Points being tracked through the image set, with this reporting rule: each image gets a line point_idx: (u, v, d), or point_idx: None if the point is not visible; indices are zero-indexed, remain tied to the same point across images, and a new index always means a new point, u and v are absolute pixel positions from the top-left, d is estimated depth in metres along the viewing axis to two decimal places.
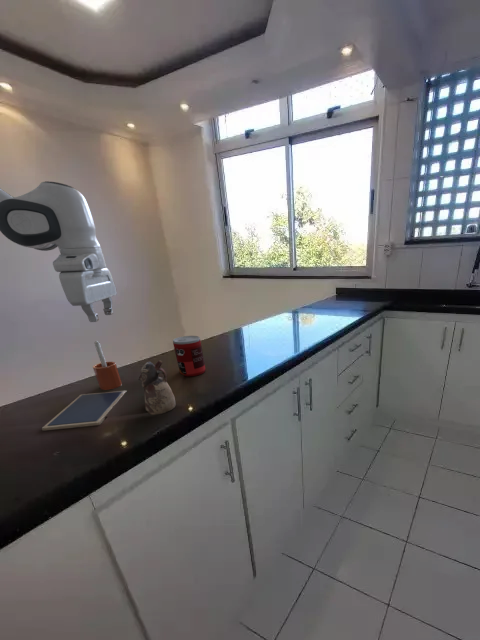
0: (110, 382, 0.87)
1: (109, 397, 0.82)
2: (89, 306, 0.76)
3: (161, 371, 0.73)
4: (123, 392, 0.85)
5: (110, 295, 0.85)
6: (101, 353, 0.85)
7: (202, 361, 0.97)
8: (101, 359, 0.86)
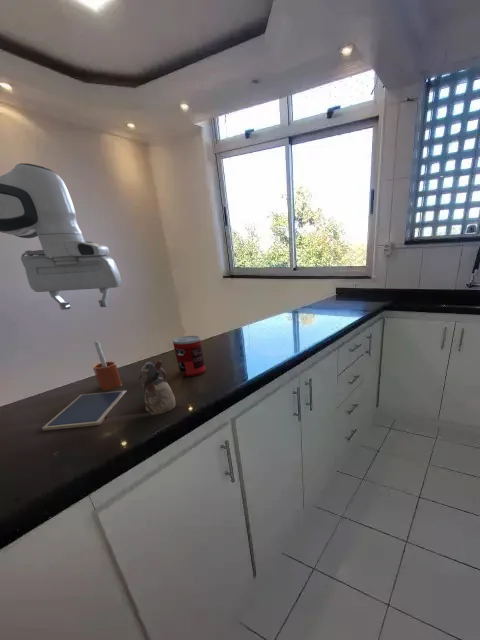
0: (110, 382, 0.87)
1: (109, 397, 0.82)
2: (108, 290, 0.80)
3: (161, 371, 0.73)
4: (123, 392, 0.85)
5: None
6: (101, 353, 0.85)
7: (202, 361, 0.97)
8: (101, 359, 0.86)
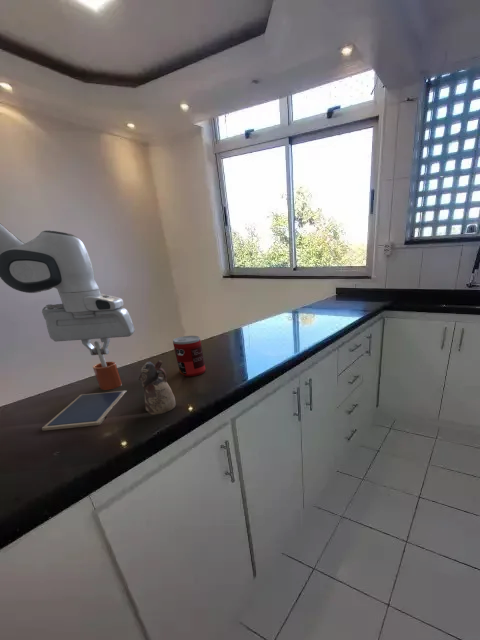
0: (110, 382, 0.87)
1: (109, 397, 0.82)
2: None
3: (161, 371, 0.73)
4: (123, 392, 0.85)
5: None
6: None
7: (202, 361, 0.97)
8: (101, 359, 0.86)
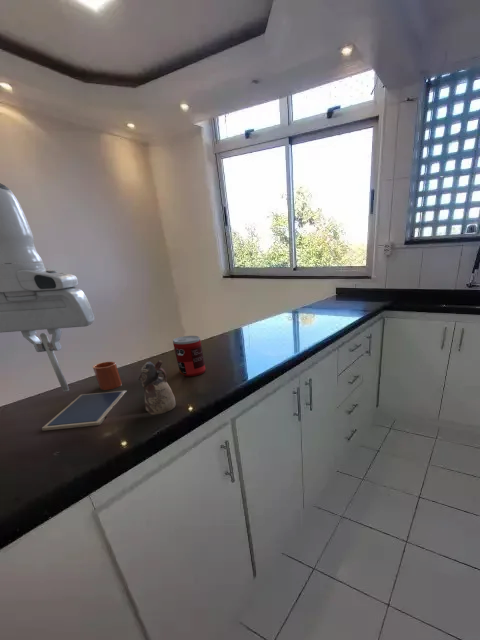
0: (110, 382, 0.87)
1: (109, 397, 0.82)
2: (60, 329, 0.64)
3: (161, 371, 0.73)
4: (123, 392, 0.85)
5: None
6: None
7: (202, 361, 0.97)
8: (50, 357, 0.65)
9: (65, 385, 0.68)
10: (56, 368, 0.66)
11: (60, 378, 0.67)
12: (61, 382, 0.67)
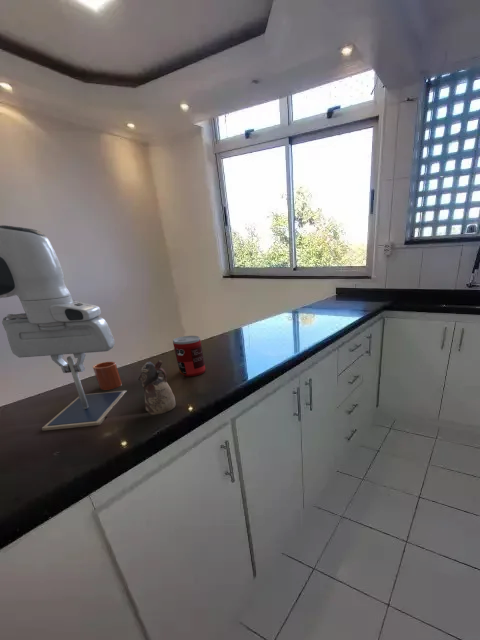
0: (110, 382, 0.87)
1: (109, 397, 0.82)
2: (84, 353, 0.72)
3: (161, 371, 0.73)
4: (123, 392, 0.85)
5: None
6: None
7: (202, 361, 0.97)
8: (74, 377, 0.73)
9: (85, 402, 0.75)
10: (78, 388, 0.74)
11: (81, 396, 0.74)
12: (82, 400, 0.75)
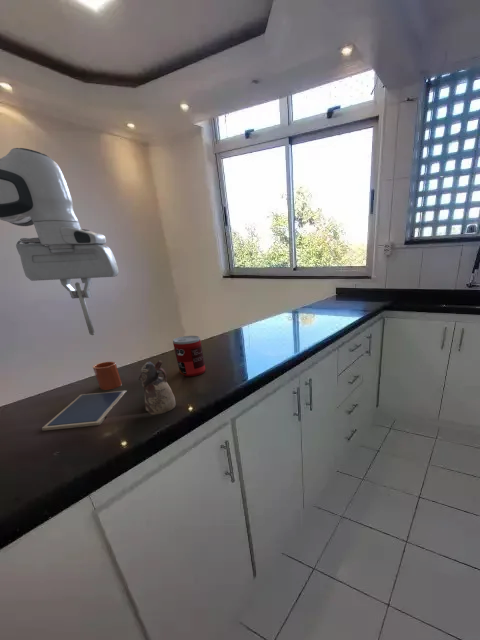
0: (110, 382, 0.87)
1: (109, 397, 0.82)
2: (90, 280, 0.78)
3: (161, 371, 0.73)
4: (123, 392, 0.85)
5: None
6: None
7: (202, 361, 0.97)
8: (82, 303, 0.79)
9: (92, 329, 0.82)
10: (85, 313, 0.80)
11: (88, 322, 0.81)
12: (89, 326, 0.81)
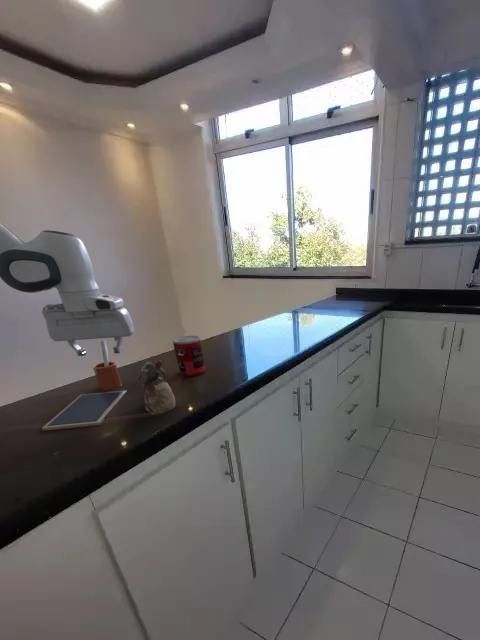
0: (110, 382, 0.87)
1: (109, 397, 0.82)
2: (122, 337, 0.85)
3: (161, 371, 0.73)
4: (123, 392, 0.85)
5: None
6: (106, 352, 0.88)
7: (202, 361, 0.97)
8: (104, 358, 0.88)
9: None
10: None
11: None
12: None
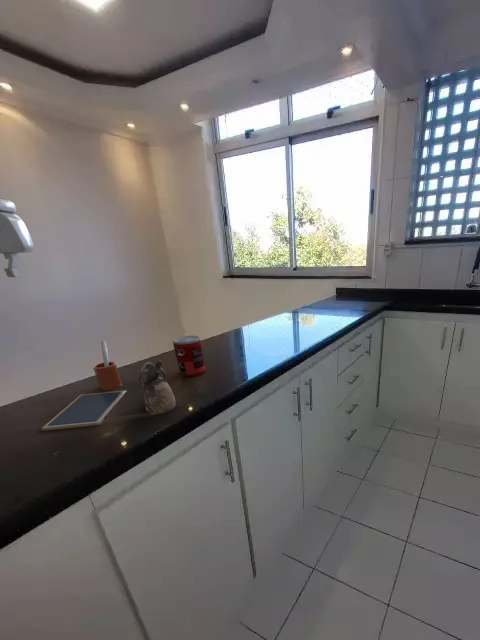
0: (110, 382, 0.87)
1: (109, 397, 0.82)
2: (17, 256, 0.66)
3: (161, 371, 0.73)
4: (123, 392, 0.85)
5: None
6: (106, 352, 0.88)
7: (202, 361, 0.97)
8: (104, 358, 0.88)
9: None
10: None
11: None
12: None
